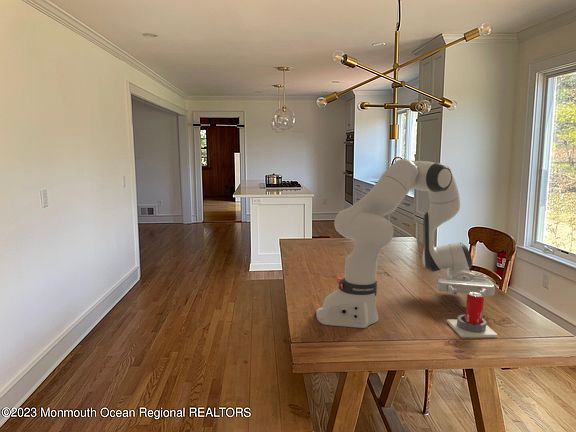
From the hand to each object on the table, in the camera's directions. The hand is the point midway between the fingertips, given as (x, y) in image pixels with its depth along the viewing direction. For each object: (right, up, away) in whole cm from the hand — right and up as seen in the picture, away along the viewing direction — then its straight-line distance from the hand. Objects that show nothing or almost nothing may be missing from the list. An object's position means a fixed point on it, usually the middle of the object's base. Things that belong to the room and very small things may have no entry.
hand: (468, 293), depth 153 cm
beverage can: (-3, -10, -10) cm, 14 cm away
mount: (-3, -11, -9) cm, 14 cm away
